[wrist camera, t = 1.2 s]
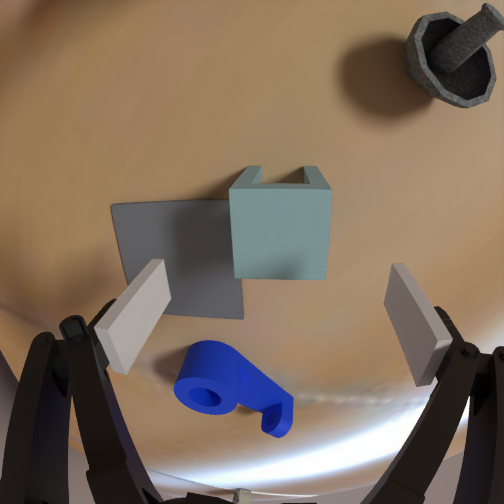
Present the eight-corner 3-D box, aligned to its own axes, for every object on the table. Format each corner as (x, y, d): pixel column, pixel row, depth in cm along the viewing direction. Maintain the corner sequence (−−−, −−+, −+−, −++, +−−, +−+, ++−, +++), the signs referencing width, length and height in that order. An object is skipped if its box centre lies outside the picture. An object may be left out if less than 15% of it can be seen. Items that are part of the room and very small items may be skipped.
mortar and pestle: (443, 123, 25) (509, 133, 14) (377, 74, 24) (426, 53, 13) (473, 55, 20) (536, 44, 9) (411, 6, 19) (460, -31, 8)
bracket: (177, 356, 44) (162, 392, 37) (209, 329, 41) (195, 368, 34) (266, 410, 48) (262, 444, 41) (302, 391, 45) (302, 428, 38)
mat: (113, 203, 33) (110, 205, 33) (236, 198, 32) (235, 200, 31) (137, 308, 40) (135, 310, 40) (243, 316, 38) (243, 319, 38)
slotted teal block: (248, 166, 30) (228, 189, 20) (316, 166, 29) (331, 189, 19) (250, 229, 33) (234, 278, 23) (314, 230, 32) (325, 280, 22)
